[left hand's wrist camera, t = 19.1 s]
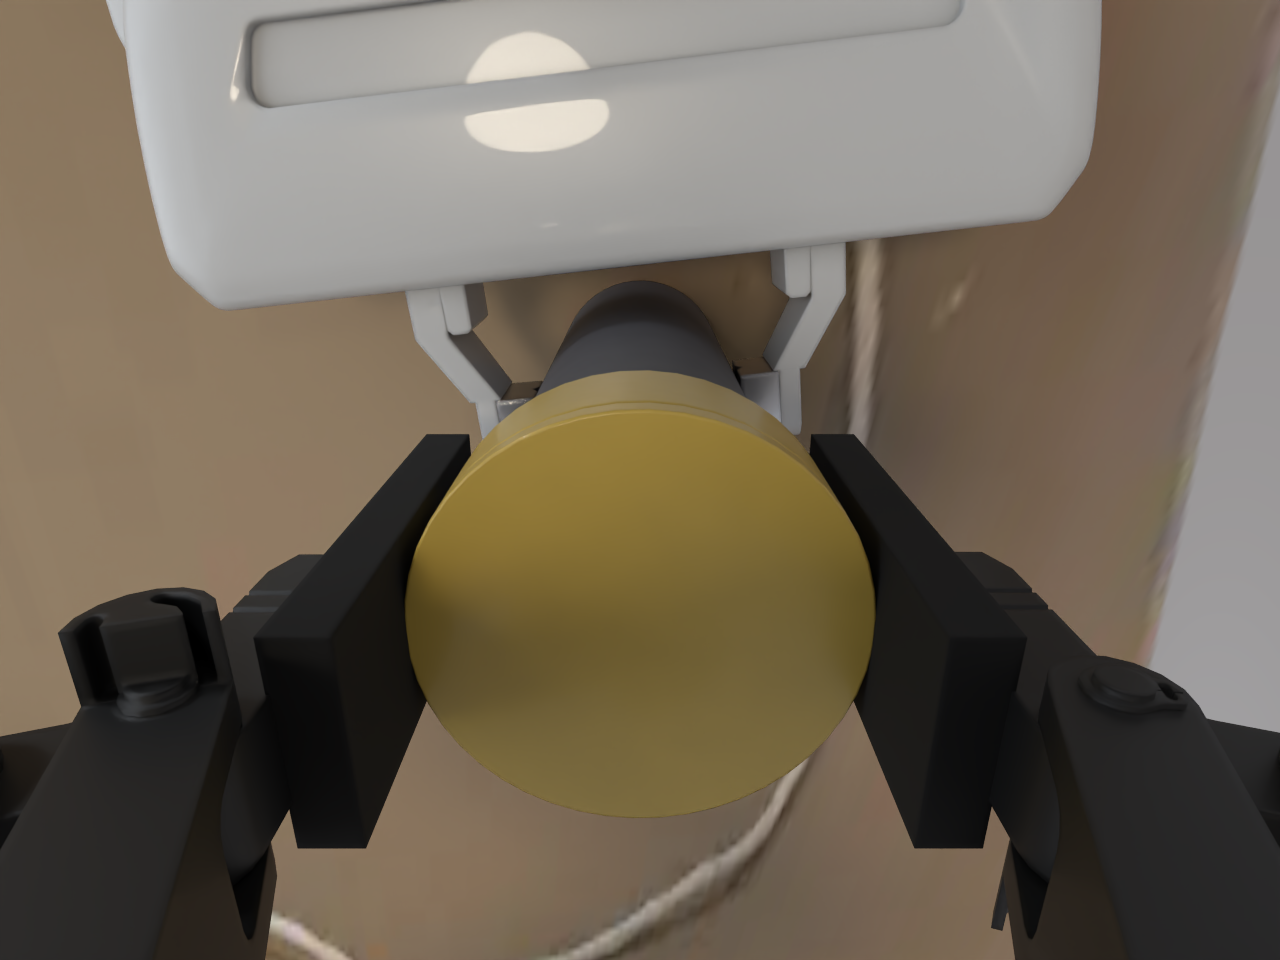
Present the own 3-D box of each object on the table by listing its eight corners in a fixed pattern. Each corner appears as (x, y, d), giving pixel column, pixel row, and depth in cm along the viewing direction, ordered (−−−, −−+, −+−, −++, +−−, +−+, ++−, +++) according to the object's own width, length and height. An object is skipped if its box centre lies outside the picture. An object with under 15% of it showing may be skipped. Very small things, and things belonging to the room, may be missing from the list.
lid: (917, 572, 12) (971, 648, 10) (631, 783, 13) (629, 884, 11) (652, 277, 10) (654, 297, 8) (360, 553, 12) (304, 625, 10)
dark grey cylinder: (747, 363, 26) (906, 629, 10) (635, 459, 27) (628, 825, 12) (645, 246, 25) (654, 352, 9) (533, 353, 26) (370, 607, 10)
